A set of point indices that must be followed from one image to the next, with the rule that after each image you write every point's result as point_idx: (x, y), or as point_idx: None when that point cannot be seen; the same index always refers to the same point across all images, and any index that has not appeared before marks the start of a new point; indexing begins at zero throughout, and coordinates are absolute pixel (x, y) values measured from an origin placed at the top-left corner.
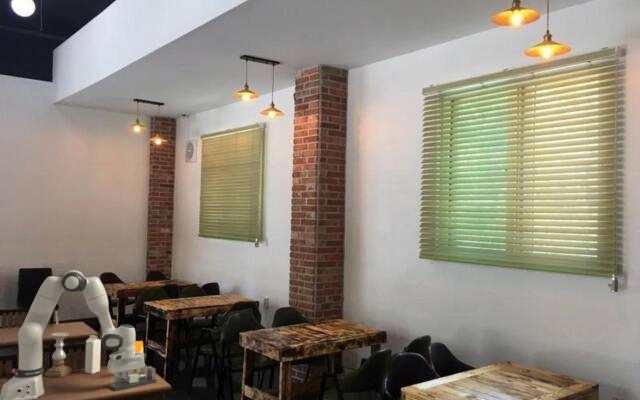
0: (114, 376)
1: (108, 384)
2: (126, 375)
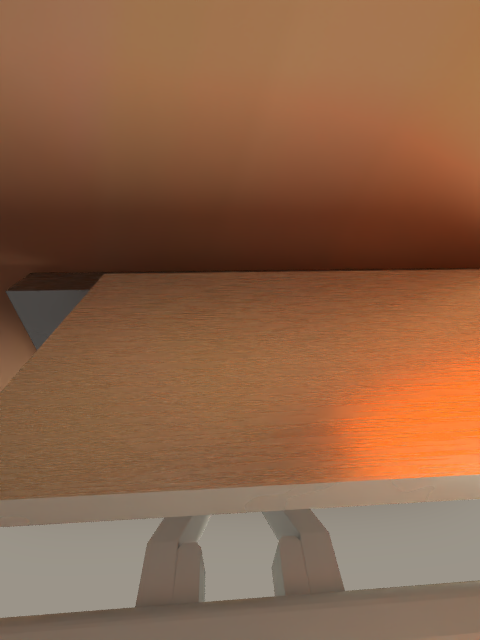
0: (58, 342)
1: (16, 296)
2: None
